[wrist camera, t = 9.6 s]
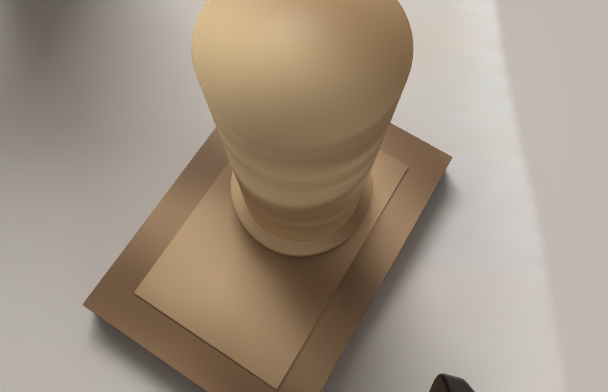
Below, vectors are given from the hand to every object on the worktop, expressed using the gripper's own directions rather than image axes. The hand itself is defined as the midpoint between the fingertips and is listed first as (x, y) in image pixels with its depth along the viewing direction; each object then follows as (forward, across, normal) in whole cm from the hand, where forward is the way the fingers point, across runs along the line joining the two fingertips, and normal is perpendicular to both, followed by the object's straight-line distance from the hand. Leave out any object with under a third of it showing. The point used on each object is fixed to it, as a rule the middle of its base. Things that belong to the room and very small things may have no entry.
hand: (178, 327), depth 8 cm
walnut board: (+12, -1, +5) cm, 13 cm away
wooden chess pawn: (+13, -2, +2) cm, 13 cm away
